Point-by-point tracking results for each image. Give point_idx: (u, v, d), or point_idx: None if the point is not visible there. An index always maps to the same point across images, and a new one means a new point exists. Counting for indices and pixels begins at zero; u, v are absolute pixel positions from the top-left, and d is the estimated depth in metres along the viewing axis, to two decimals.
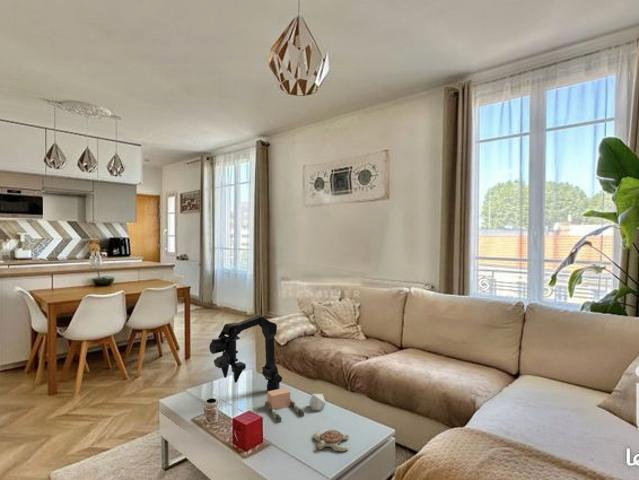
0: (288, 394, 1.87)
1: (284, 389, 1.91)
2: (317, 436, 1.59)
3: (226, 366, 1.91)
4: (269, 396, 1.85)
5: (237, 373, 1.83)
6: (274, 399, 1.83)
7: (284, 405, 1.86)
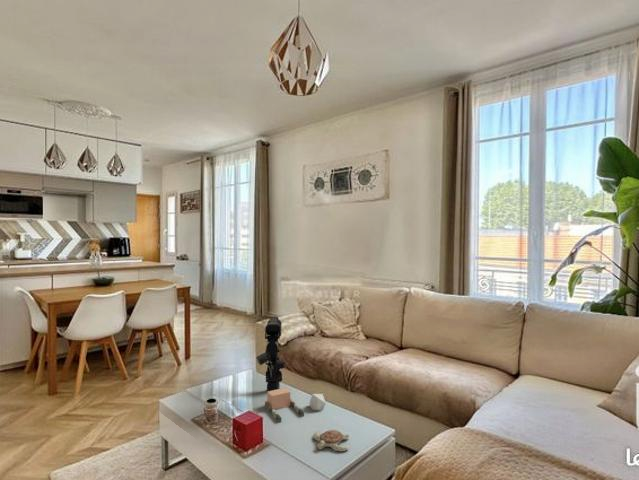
0: (288, 394, 1.87)
1: (284, 389, 1.91)
2: (317, 436, 1.59)
3: None
4: (269, 396, 1.85)
5: None
6: (274, 399, 1.83)
7: (284, 405, 1.86)
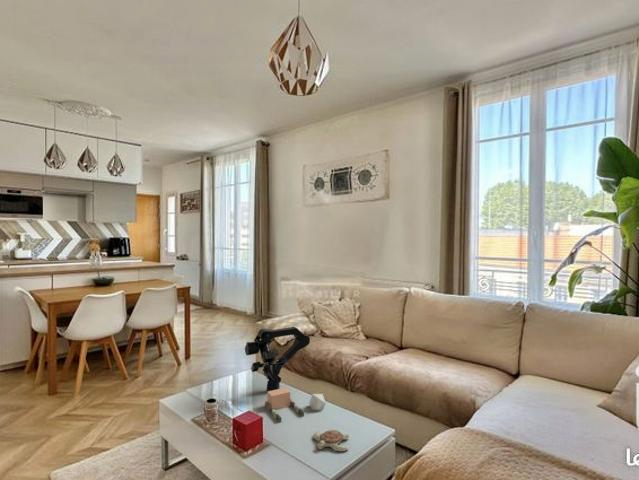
0: (288, 394, 1.87)
1: (284, 389, 1.91)
2: (317, 436, 1.59)
3: None
4: (269, 396, 1.85)
5: None
6: (274, 399, 1.83)
7: (284, 405, 1.86)
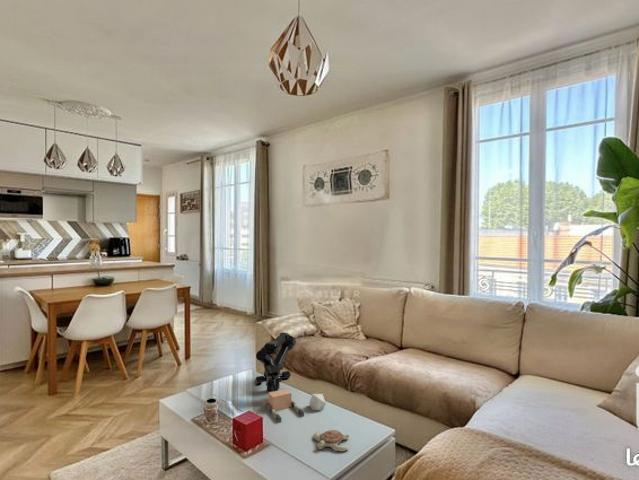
0: (289, 395, 1.86)
1: (285, 390, 1.89)
2: (317, 436, 1.59)
3: None
4: (270, 397, 1.84)
5: None
6: (275, 400, 1.82)
7: (285, 406, 1.85)
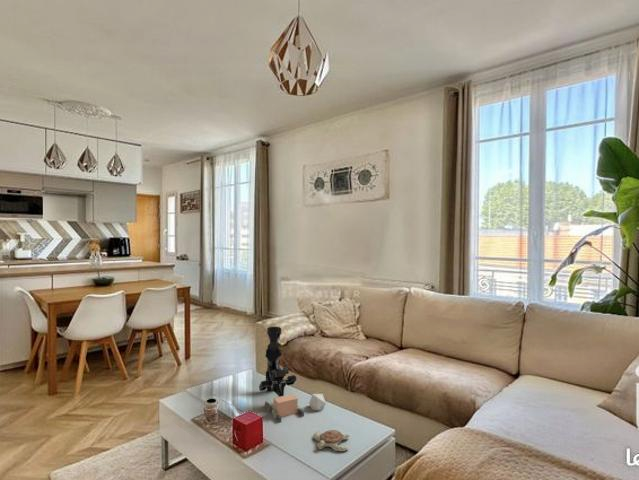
0: (295, 401, 1.80)
1: (291, 395, 1.83)
2: (317, 436, 1.59)
3: None
4: (275, 403, 1.78)
5: None
6: (281, 406, 1.76)
7: (291, 412, 1.79)
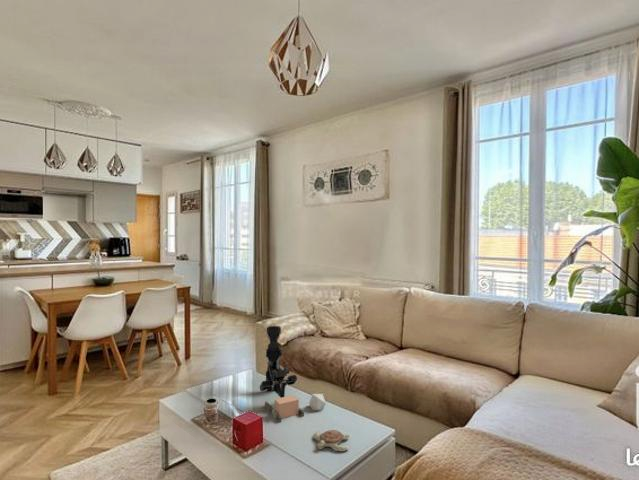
0: (296, 402, 1.79)
1: (292, 396, 1.82)
2: (317, 436, 1.59)
3: None
4: (276, 404, 1.77)
5: None
6: (282, 407, 1.75)
7: (292, 413, 1.78)
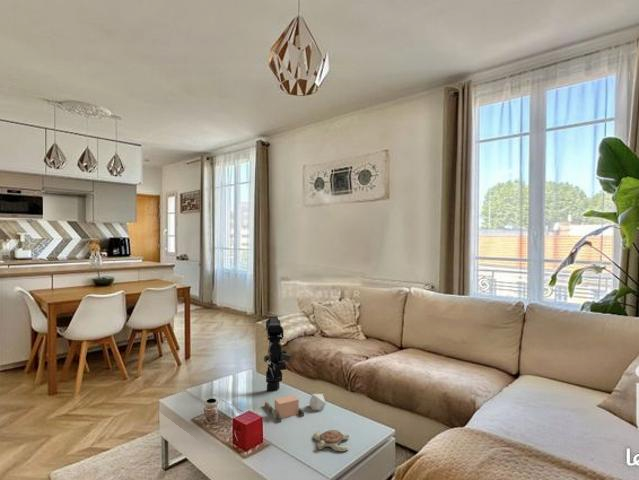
0: (296, 402, 1.79)
1: (292, 396, 1.82)
2: (317, 436, 1.59)
3: None
4: (276, 404, 1.77)
5: None
6: (282, 407, 1.75)
7: (292, 413, 1.78)
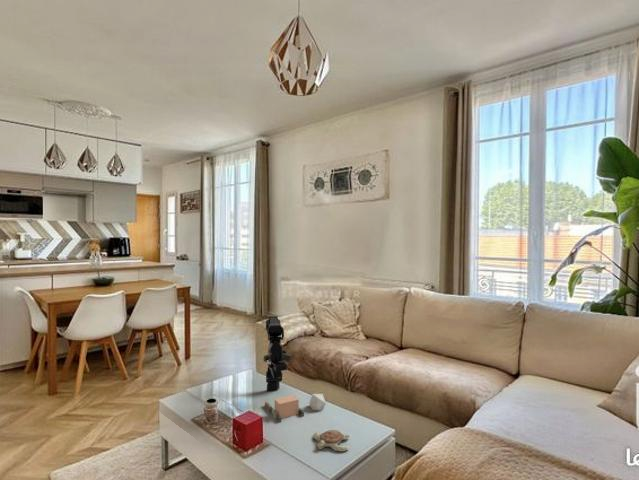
0: (296, 402, 1.79)
1: (292, 396, 1.82)
2: (317, 436, 1.59)
3: None
4: (276, 404, 1.77)
5: None
6: (282, 407, 1.75)
7: (292, 413, 1.78)
